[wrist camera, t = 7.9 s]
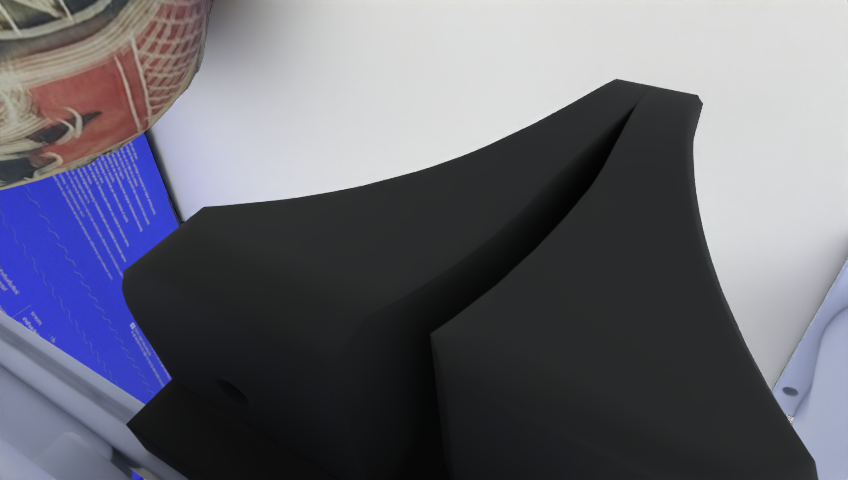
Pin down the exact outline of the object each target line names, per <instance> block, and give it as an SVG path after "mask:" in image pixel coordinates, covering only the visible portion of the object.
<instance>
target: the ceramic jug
mask: <svg viewBox="0 0 848 480" xmlns="http://www.w3.org/2000/svg"><path fill="white" fill-rule="evenodd" d="M212 3H213V0H0V190H3V189H7V188H11V187H15V186H19V185H23V184H27V183H30V182H34V181H38V180H41V179H44V178H47V177H50V176H53V175H55V174H58V173H61V172H65V171H69V170H73V169H78V168H81V167H84V166H86V165H89V164H91V163H93V162H94V161H95V160H96V159H97V158H98V157H100V156H101V155H106V156H109V155H110V154H112V153H114V152H117V151H118V150H119V149H120V148H122V147H123V146H125V145H126V144H128V143H129V142H131V141H132V140H134V139H135V138H137V137H138V136H140V135H141V134H142V133H144V132H145V131H146V130H148V129H149V128H150V127H152V126H153V125H154V124H155V123H156V122H157V121H158V120H159V119H160V118H161V116H162V115H163V114H164V113H165V112H166V111H167V110H168V109H169V108H170V107H171V106H172V104H173V103H174V102H175V101H176V99H177V98H178V97H179V96H180V95H181V94H182V93H183V92H184V91H185V90H186V89H187V88H188V87H189V85H190V83H191V81H192V79H193V78H194V76H195V74H196V73H197V72H198V71H199V69H200V65H201V62H202V59H203V53H204V46H205V39H206V32H207V25H208V18H209V13H210V10H211V6H212Z"/></svg>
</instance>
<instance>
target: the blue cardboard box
mask: <svg viewBox="0 0 848 480" xmlns="http://www.w3.org/2000/svg"><path fill="white" fill-rule="evenodd" d="M179 226H181V224H180V222H179V220H178V217H177V215H176V212H175V210H174V208H173V205H172V203H171V201H170V198H169V196H168V193H167V191H166V188H165V186H164V183H163V181H162V178H161V176H160V173H159V171H158V168H157V166H156V163H155V160H154V158H153V155H152V152H151V150H150V147H149V145H148V142H147V139H146V137H145V134H144V133H142V134H141V135H140V136H138V137H137V138H135V139H134V140H132V141H131V142H129V143H128V144H126V145H125V146H123V147H122V148H120V149H119V150H118V151H117V152H114V153H112V154H110V155H109V156H106V155H101V156H100V157H98V158H97V159H96V160H95V161H94V162H93V163H91V164H89V165H86V166H84V167H81V168H78V169H73V170H69V171H65V172H61V173H58V174H55V175H53V176H50V177H47V178H44V179H41V180H38V181H34V182H30V183H27V184H23V185H19V186H15V187H11V188H7V189H3V190H0V311H2V312H3V313H5V314H6V315H8V316H9V317H11V318H13V319H14V320H16V321H17V322H19V323H20V324H22V325H23V326H25V327H26V328H28V329H29V330H31V331H33V332H34V333H36V334H37V335H39V336H40V337H42V338H43V339H45V340H46V341H48V342H50V343H51V344H53V345H54V346H56V347H57V348H59V349H60V350H62V351H63V352H65V353H66V354H68V355H70V356H71V357H73V358H74V359H76V360H77V361H79V362H80V363H82V364H83V365H85V366H87V367H88V368H90V369H91V370H93V371H94V372H96V373H97V374H99V375H100V376H102V377H103V378H105V379H107V380H108V381H110V382H111V383H113V384H114V385H116V386H117V387H119V388H120V389H122V390H124V391H125V392H127V393H128V394H130V395H131V396H133V397H134V398H136V399H137V400H139V401H140V402H142V403H144V404H145V405H146V404H147V403H148V402H149V401H150V400H151V399H152V398H153V397H154V396H155V395H156V394H157V393H158V392H159V391H160V390H161V389H162V388H163V387H164V386H165V385H166V384H167V383H168V382H169V381H170V380H171V379H172V378H171V376H170V375H169V373H168V372H167V370H166V368H165V367H164V365H163V364H162V362H161V361H160V359H159V357H158V356H157V354H156V353H155V351H154V350H153V348H152V346H151V345H150V343H149V342H148V340H147V339H146V337H145V336H144V334H143V332H142V331H141V329H140V328H139V326H138V325H137V323H136V321H135V320H134V318H133V316H132V314H131V312H130V310H129V309H128V307H127V305H126V302H125V299H124V296H123V292H122V279H123V274H124V270H126V269H127V268H128V267H129V266H131V265H132V264H133V263H134V262H136V261H137V260H138V259H139V258H141V257H142V256H143V255H144V254H146V253H147V252H148V251H149V250H151V249H152V248H153V247H154V246H156V245H157V244H158V243H159V242H161V241H162V240H163V239H164V238H166V237H167V236H168V235H169V234H171V233H172V232H173V231H174V230H176V229H177V228H178V227H179ZM132 480H145V479H143V478H142V477H141V476H139V475H138V474H137V473H135V472H134V471H133V470H132Z"/></svg>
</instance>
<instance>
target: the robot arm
mask: <svg viewBox="0 0 848 480" xmlns="http://www.w3.org/2000/svg"><path fill="white" fill-rule="evenodd" d="M702 106H703V103H702V102H701V100H700V99H699V97H698V95H694V94H689V93H684V92H679V91H674V90H669V89H664V88H659V87H654V86H649V85H644V84H639V83H634V82H629V81H624V80H619V79H615V80H613V81H611V82H609V83H607V84H605V85H603V86H602V87H600V88H598V89H596V90H595V91H593V92H591V93H589V94H587V95H586V96H584V97H582V98H580V99H579V100H577V101H575V102H573V103H572V104H570V105H568V106H566V107H564V108H562V109H560V110H559V111H557V112H555V113H553V114H551V115H549V116H547V117H546V118H544V119H542V120H540V121H538V122H536V123H534V124H532V125H530V126H528V127H526V128H524V129H522V130H520V131H518V132H515V133H513V134H511V135H509V136H507V137H505V138H503V139H501V140H498V141H496V142H494V143H492V144H490V145H488V146H486V147H483V148H481V149H478V150H476V151H474V152H471V153H469V154H466V155H463V156H461V157H458V158H455V159H453V160H450V161H447V162H444V163H441V164H438V165H435V166H433V167H430V168H427V169H423V170H420V171H417V172H413V173H409V174H405V175H402V176H398V177H394V178H390V179H387V180H383V181H379V182H375V183H372V184H368V185H364V186H359V187H354V188H349V189H344V190H339V191H334V192H329V193H323V194H317V195H311V196H305V197H299V198H291V199H284V200H276V201H266V202H255V203H245V204H235V205H225V206H211V207H203V208H202V209H200V210H199V211H198V212H197V213H195V214H194V215H193V216H192V217H190V218H189V219H188V220H187V221H185V222H184V223H183V224H182V225H181V226H179V227H178V228H177V229H176V230H174V231H173V232H172V233H171V234H169V235H168V236H167V237H166V238H164V239H163V240H162V241H161V242H159V243H158V244H157V245H156V246H154V247H153V248H152V249H151V250H149V251H148V252H147V253H146V254H144V255H143V256H142V257H141V258H139V259H138V260H137V261H136V262H134V263H133V264H132V265H131V266H129V267H128V268H127V269H126V270H124V274H123V279H122V292H123V296H124V299H125V302H126V305H127V307H128V309H129V310H130V312H131V314H132V316H133V318H134V320H135V321H136V323H137V325H138V326H139V328H140V329H141V331H142V332H143V334H144V336H145V337H146V339H147V340H148V342H149V343H150V345H151V346H152V348H153V350H154V351H155V353H156V354H157V356H158V357H159V359H160V361H161V362H162V364H163V365H164V367H165V368H166V370H167V372H168V373H169V375H170V376H171V378H172V379H171V380H170V381H169V382H168V383H167V384H166V385H165V386H164V387H163V388H162V389H161V390H160V391H159V392H158V393H157V394H156V395H155V396H154V397H153V398H152V399H151V400H150V401H149V402H148V403H147V404H146V405H145V404H144V403H142V402H140V401H139V400H137V399H136V398H134V397H133V396H131V395H130V394H128V393H127V392H125V391H124V390H122V389H120V388H119V387H117V386H116V385H114V384H113V383H111V382H110V381H108V380H107V379H105V378H103V377H102V376H100V375H99V374H97V373H96V372H94V371H93V370H91V369H90V368H88V367H87V366H85V365H83V364H82V363H80V362H79V361H77V360H76V359H74V358H73V357H71V356H70V355H68V354H66V353H65V352H63V351H62V350H60V349H59V348H57V347H56V346H54V345H53V344H51V343H50V342H48V341H46V340H45V339H43V338H42V337H40V336H39V335H37V334H36V333H34V332H33V331H31V330H29V329H28V328H26V327H25V326H23V325H22V324H20V323H19V322H17V321H16V320H14V319H13V318H11V317H9V316H8V315H6V314H5V313H3V312H2V311H0V480H132V470H133V471H134V472H135V473H137V474H138V475H139V476H141V477H142V478H143V479H145V480H848V258H847V260H846V262H845V263H844V265H843V267H842V269H841V270H840V272H839V274H838V276H837V278H836V279H835V281H834V283H833V285H832V286H831V288H830V290H829V292H828V293H827V295H826V297H825V299H824V300H823V302H822V304H821V306H820V307H819V309H818V311H817V313H816V314H815V316H814V318H813V320H812V321H811V323H810V325H809V327H808V329H807V330H806V332H805V334H804V336H803V337H802V339H801V341H800V343H799V344H798V346H797V348H796V350H795V351H794V353H793V355H792V357H791V358H790V360H789V362H788V364H787V365H786V367H785V369H784V371H783V373H782V374H781V376H780V378H779V380H778V381H777V383H776V385H775V387H774V388H773V390H772V392H771V390H770V388H769V387H768V385H767V383H766V381H765V379H764V377H763V376H762V374H761V372H760V370H759V368H758V366H757V364H756V363H755V361H754V359H753V357H752V355H751V353H750V351H749V349H748V348H747V346H746V343H745V341H744V339H743V337H742V334H741V332H740V330H739V328H738V325H737V323H736V321H735V319H734V316H733V314H732V312H731V310H730V307H729V305H728V303H727V301H726V298H725V296H724V294H723V292H722V289H721V286H720V283H719V281H718V278H717V275H716V272H715V269H714V266H713V263H712V260H711V257H710V253H709V250H708V246H707V243H706V239H705V235H704V231H703V227H702V222H701V218H700V213H699V207H698V201H697V195H696V187H695V178H694V160H693V139H694V135H695V131H696V128H697V124H698V120H699V117H700V113H701V109H702ZM789 387H791V388H789ZM792 388H794V389H792ZM785 414H787V415H789V416H792V417H794V419H793V424H792V425H791V423H790V422H789V420H788V418H787V417H786V415H785Z"/></svg>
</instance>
